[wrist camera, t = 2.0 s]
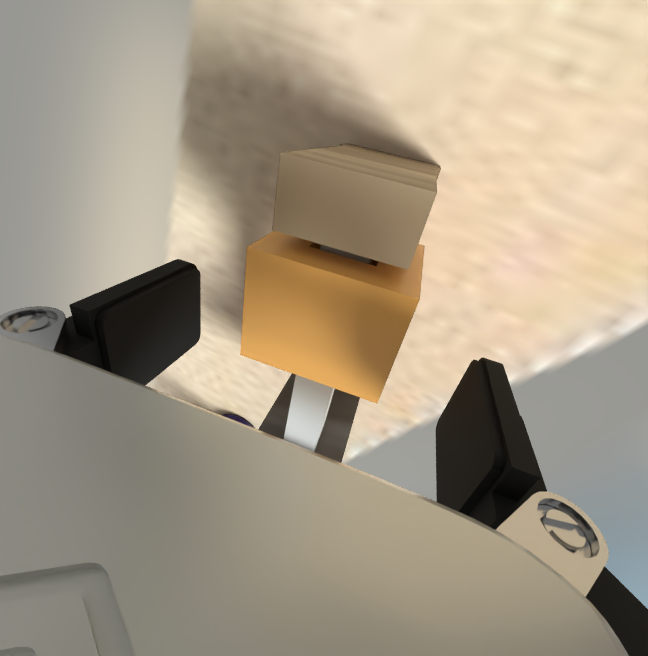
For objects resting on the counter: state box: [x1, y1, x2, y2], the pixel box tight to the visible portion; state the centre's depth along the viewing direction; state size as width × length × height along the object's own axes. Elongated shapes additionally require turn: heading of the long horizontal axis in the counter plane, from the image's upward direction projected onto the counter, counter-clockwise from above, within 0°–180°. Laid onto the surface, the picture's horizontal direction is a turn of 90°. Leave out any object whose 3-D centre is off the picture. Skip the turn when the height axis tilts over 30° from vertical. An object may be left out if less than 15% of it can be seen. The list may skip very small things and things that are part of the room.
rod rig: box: [258, 144, 441, 463], centre depth 15 cm, size 15×4×8 cm, turn 169°
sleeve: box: [240, 231, 424, 403], centre depth 12 cm, size 4×5×5 cm
